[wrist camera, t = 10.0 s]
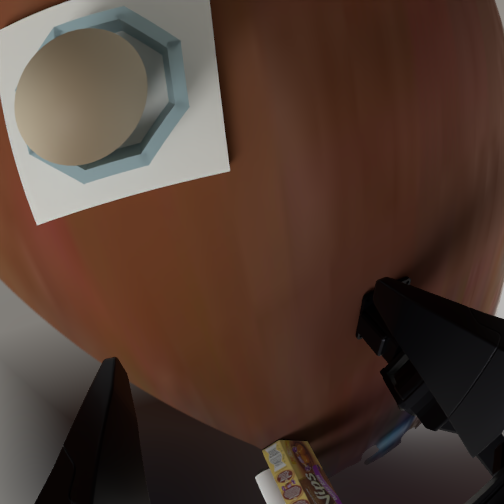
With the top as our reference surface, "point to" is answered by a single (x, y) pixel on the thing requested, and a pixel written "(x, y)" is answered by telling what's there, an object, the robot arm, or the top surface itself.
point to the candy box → (299, 473)
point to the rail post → (80, 96)
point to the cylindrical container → (269, 488)
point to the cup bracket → (155, 112)
